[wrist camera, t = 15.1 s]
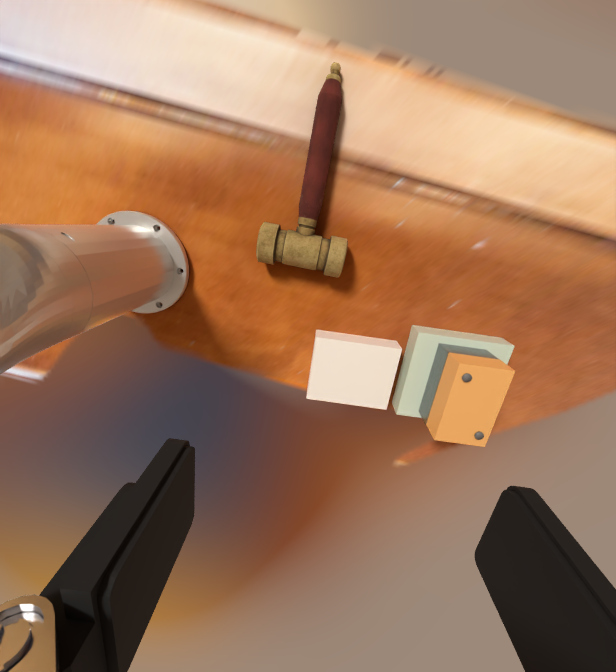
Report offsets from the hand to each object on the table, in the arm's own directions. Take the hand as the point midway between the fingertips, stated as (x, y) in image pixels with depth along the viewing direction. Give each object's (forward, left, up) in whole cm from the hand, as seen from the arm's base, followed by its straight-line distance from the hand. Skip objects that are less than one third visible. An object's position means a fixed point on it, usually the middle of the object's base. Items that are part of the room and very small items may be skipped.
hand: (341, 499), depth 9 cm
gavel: (-3, +13, -33) cm, 35 cm away
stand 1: (+5, -10, -32) cm, 34 cm away
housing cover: (+18, -9, -26) cm, 33 cm away
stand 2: (+18, -9, -32) cm, 38 cm away
